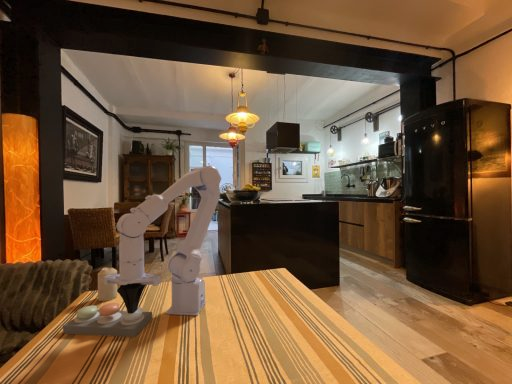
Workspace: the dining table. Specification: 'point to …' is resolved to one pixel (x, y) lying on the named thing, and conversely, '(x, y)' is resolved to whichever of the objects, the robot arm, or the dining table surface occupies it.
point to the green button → (86, 312)
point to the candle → (106, 285)
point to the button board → (107, 325)
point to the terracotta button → (109, 309)
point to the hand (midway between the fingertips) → (132, 311)
